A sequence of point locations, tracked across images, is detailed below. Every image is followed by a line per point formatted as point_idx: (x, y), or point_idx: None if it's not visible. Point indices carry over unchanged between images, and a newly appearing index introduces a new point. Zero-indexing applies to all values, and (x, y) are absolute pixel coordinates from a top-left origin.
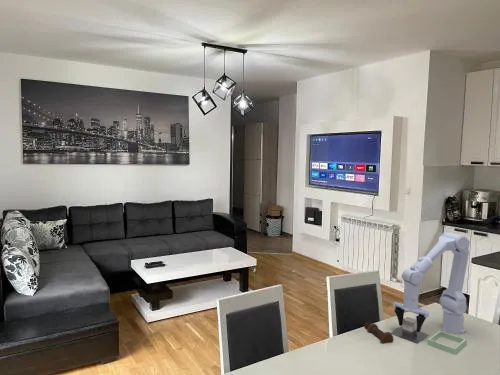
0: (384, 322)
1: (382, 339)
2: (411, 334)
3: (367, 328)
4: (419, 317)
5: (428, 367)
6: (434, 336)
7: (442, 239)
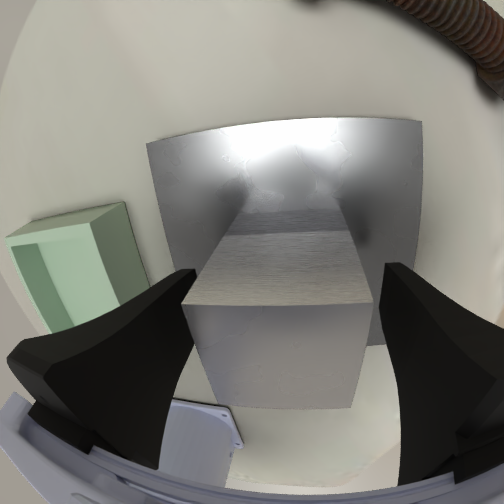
0: (494, 303)
1: None
2: (240, 222)
3: None
4: (15, 365)
5: (33, 27)
6: (114, 308)
7: None
